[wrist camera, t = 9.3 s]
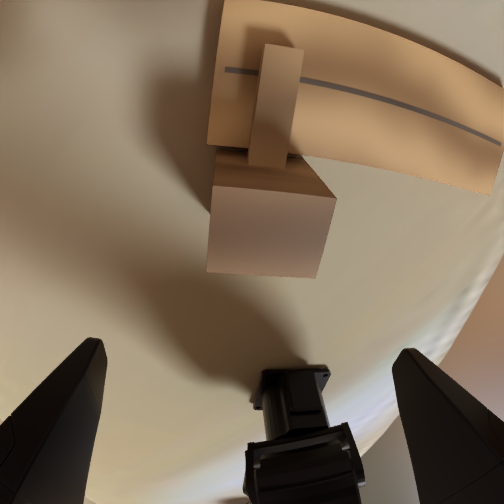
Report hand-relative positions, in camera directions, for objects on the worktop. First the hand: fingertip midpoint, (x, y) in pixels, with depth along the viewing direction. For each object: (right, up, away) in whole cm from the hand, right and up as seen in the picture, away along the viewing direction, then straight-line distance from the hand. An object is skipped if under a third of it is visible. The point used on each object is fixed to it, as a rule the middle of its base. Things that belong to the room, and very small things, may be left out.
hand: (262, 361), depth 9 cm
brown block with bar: (0, +9, +8) cm, 13 cm away
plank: (+8, +12, +8) cm, 16 cm away
